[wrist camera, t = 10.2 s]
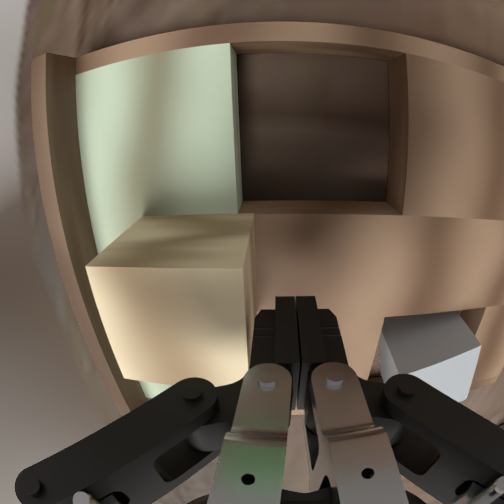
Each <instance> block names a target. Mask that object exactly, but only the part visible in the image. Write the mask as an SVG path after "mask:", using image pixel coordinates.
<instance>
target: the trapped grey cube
mask: <svg viewBox="0 0 504 504" xmlns="http://www.w3.org/2000/svg"><path fill="white" fill-rule="evenodd" d="M378 344H379V361H380V373H381V376H382V379H383V382H384V383H386V382H387V380H388V379H389V378H390V377H392V376H394V375H397V374H411V375H414V376H416V377H418V378H420V379H421V380H423V381H424V382H426V383H428V384H429V385H431V386H433V387H434V388H436V389H437V390H439V391H441V392H442V393H444V394H446V395H447V396H449V397H450V398H452V399H454V400H455V401H457V402H460V401H463V400H465V399H467V395H468V392H469V389H470V386H471V383H472V379H473V376H474V372H475V369H476V365H477V361H478V357H479V353H480V349H481V344H480V342H479V341H478V340H477V338H476V337H475V335H474V334H473V333H472V331H471V330H470V328H469V327H468V326H467V324H466V323H465V322H464V320H463V319H462V318H461V316H460V315H459V314H458V312H457V311H449V312H440V313H429V314H418V315H406V316H393V317H385V318H384V322H383V326H382V330H381V334H380V338H379V342H378Z"/></svg>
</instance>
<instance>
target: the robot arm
mask: <svg viewBox="0 0 504 504" xmlns="http://www.w3.org/2000/svg"><path fill="white" fill-rule="evenodd" d="M296 398H297V410H304V414H305V421H304V427H303V430H304V437H305V444H306V451H307V459H308V466H309V475H310V480H309V493H299V492H293V491H288V490H283V489H282V483H283V474H284V465H285V456H286V446H287V434H288V428H289V426H290V420H291V410H295V407H296ZM218 455H219V459H218V463H217V467H216V471H215V475H214V478H213V482H212V486H211V490H210V493H209V494H208V495H205V496H202V497H199V498H197V499H195V500H193V501H191V502H189V503H187V504H426V503H425V502H424V501H422V500H421V499H420V498H418V497H417V496H415V495H414V494H412V493H410V492H408V491H406V490H405V488H404V485H403V482H402V478H401V475H403V476H404V477H405V478H407V479H408V480H410V481H411V482H412V483H414V484H415V485H417V486H418V487H419V488H421V489H422V490H424V491H425V492H427V493H428V494H430V495H431V496H433V497H434V498H436V499H437V500H439V501H440V502H442V503H443V504H504V424H503V425H501V426H497V425H495V424H493V423H492V422H490V421H488V420H487V419H485V418H483V417H482V416H480V415H478V414H477V413H475V412H473V411H472V410H470V409H469V408H467V407H465V406H464V405H462V404H460V403H459V402H457V401H455V400H454V399H452V398H450V397H449V396H447V395H446V394H444V393H442V392H441V391H439V390H437V389H436V388H434V387H433V386H431V385H429V384H428V383H426V382H424V381H423V380H421V379H420V378H418V377H416V376H414V375H411V374H397V375H394V376H392V377H390V378H389V379H388V380H387V382H386V383H379V382H372V381H368V380H365V379H362V378H360V377H358V376H357V374H356V372H355V371H354V370H353V369H352V368H351V367H350V366H349V365H348V361H347V356H346V352H345V348H344V344H343V340H342V336H341V332H340V328H339V325H338V321H337V317H336V316H335V315H334V314H333V313H332V311H331V310H330V309H318V308H317V303H316V298H315V296H296V298H295V297H294V296H275V309H261V310H260V312H259V313H258V314H257V315H256V317H255V320H254V329H253V338H252V348H251V357H250V366H249V370H248V371H247V372H246V374H245V375H244V377H243V378H241V379H240V380H238V381H237V382H234V383H232V384H228V385H223V386H218V387H215V386H214V385H213V384H212V383H211V382H210V381H208V380H206V379H203V378H198V377H192V378H186V379H183V380H181V381H179V382H177V383H176V384H174V385H172V386H171V387H169V388H168V389H166V390H165V391H163V392H161V393H160V394H158V395H157V396H155V397H153V398H152V399H150V400H149V401H147V402H145V403H144V404H142V405H141V406H139V407H137V408H136V409H134V410H132V411H131V412H129V413H127V414H126V415H124V416H122V417H121V418H119V419H117V420H116V421H114V422H112V423H110V424H109V425H107V426H105V427H103V428H102V429H100V430H98V431H97V432H95V433H93V434H91V435H89V436H88V437H86V438H84V439H82V440H80V441H79V442H77V443H75V444H73V445H71V446H69V447H68V448H65V449H64V450H62V451H60V452H58V453H56V454H54V455H52V456H50V457H49V458H46V459H44V460H42V461H40V462H38V463H36V464H34V465H32V466H30V467H28V468H26V469H24V470H23V471H22V472H21V473H20V474H19V475H18V477H17V479H16V482H15V492H16V495H17V497H18V499H19V501H20V502H21V503H22V504H152V503H153V502H155V501H156V500H158V499H159V498H161V497H162V496H164V495H165V494H167V493H168V492H170V491H171V490H173V489H174V488H176V487H177V486H178V485H180V484H181V483H183V482H184V481H185V480H187V479H188V478H190V477H191V476H192V475H194V474H195V473H196V472H198V471H199V470H200V469H202V468H203V467H204V466H206V465H207V464H208V463H209V462H211V461H212V460H213V459H215V458H216V457H217V456H218ZM400 474H401V475H400Z"/></svg>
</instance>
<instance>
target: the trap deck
mask: <svg viewBox="0 0 504 504" xmlns="http://www.w3.org/2000/svg"><path fill="white" fill-rule="evenodd" d="M257 53H310V54H328V55H341V56H352V57H361V58H369V59H376V60H383V61H388V74H389V104H390V133H389V163H388V181H387V194H386V202H373V201H323V200H277V201H243V196H242V175H241V153H240V130H239V107H238V83H237V58H236V55H238V54H257ZM31 106H32V124H33V137H34V147H35V156H36V164H37V171H38V177H39V184H40V189H41V195H42V200H43V205H44V210H45V215H46V220H47V224H48V228H49V233H50V237H51V241H52V245H53V248H54V252H55V256H56V259H57V263H58V266H59V269H60V273H61V276H62V279H63V282H64V285H65V288H66V291H67V294H68V297H69V300H70V303H71V306H72V309H73V311H74V314H75V317H76V319H77V322H78V324H79V327H80V329H81V332H82V334H83V337H84V339H85V342H86V344H87V346H88V349H89V351H90V353H91V355H92V358H93V360H94V362H95V364H96V366H97V368H98V370H99V373H100V375H101V377H102V379H103V381H104V383H105V385H106V387H107V389H108V391H109V393H110V394H111V396H112V398H113V400H114V402H115V404H116V406H117V407H118V409H119V411H120V413H121V415H122V416H124V415H126V414H127V413H129V412H131V411H132V410H134V409H136V408H137V407H139V406H141V405H142V404H144V403H145V402H147V401H149V400H150V399H152V398H153V397H155V396H157V395H158V394H160V393H161V392H163V391H165V390H166V389H168V388H169V387H171V386H172V385H167V384H159V383H151V382H144V381H138V380H131V379H125V378H124V377H123V375H122V372H121V370H120V367H119V365H118V363H117V360H116V358H115V355H114V353H113V350H112V347H111V345H110V342H109V339H108V337H107V334H106V331H105V328H104V326H103V323H102V320H101V317H100V314H99V311H98V308H97V305H96V302H95V299H94V295H93V292H92V289H91V285H90V282H89V278H88V275H87V271H86V267H85V266H86V265H87V264H88V263H89V262H90V261H92V260H93V259H94V258H95V257H96V256H97V255H98V254H99V253H100V252H102V251H103V250H104V249H105V248H106V247H107V246H108V245H110V244H111V243H112V242H113V241H114V240H115V239H116V238H118V237H119V236H120V235H121V234H122V233H123V232H125V231H126V230H127V229H128V228H129V227H131V226H132V225H133V224H134V223H135V222H137V221H138V220H139V219H140V218H141V217H143V216H165V215H195V214H243V213H254V232H255V265H256V300H257V314H258V313H259V312H260V310H261V309H275V296H294V297H295V298H296V296H315V298H316V303H317V308H318V309H330V310H331V311H332V313H333V314H334V315H335V316H336V317H337V321H338V325H339V328H340V332H341V336H342V340H343V344H344V348H345V352H346V356H347V361H348V365H349V366H350V367H351V368H352V369H353V370H354V371H355V372H356V374H357V376H358V377H360V378H362V379H365V380H368V381H372V382H379V383H384V382H383V379H382V377H373V378H368V376H369V373H370V370H371V366H372V363H373V360H374V356H375V353H376V349H377V345H378V342H379V338H380V334H381V330H382V326H383V322H384V318H385V317H393V316H406V315H418V314H429V313H440V312H449V311H458V310H462V313H461V318H462V319H463V320H464V322H465V323H466V324H467V326H468V327H469V328H470V330H471V331H472V333H473V334H474V335H475V337H476V338H477V340H478V341H479V342H480V344H481V349H480V353H479V357H478V361H477V365H476V369H475V372H474V376H473V379H472V383H471V386H470V389H469V390H472V389H476V388H479V387H482V386H486V385H489V384H492V383H494V382H495V381H496V379H497V377H498V376H499V374H500V372H501V370H502V369H503V367H504V66H502V65H499V64H497V63H494V62H492V61H490V60H487V59H485V58H482V57H479V56H477V55H474V54H471V53H468V52H465V51H463V50H460V49H456V48H453V47H450V46H447V45H444V44H440V43H437V42H433V41H429V40H425V39H422V38H417V37H413V36H409V35H404V34H400V33H395V32H390V31H384V30H378V29H372V28H365V27H358V26H350V25H341V24H330V23H315V22H248V23H233V24H222V25H213V26H204V27H197V28H190V29H184V30H178V31H172V32H167V33H162V34H157V35H152V36H148V37H144V38H139V39H135V40H131V41H128V42H124V43H120V44H117V45H113V46H110V47H107V48H103V49H100V50H97V51H94V52H91V53H88V54H85V55H82V56H80V57H77V58H73V57H68V56H63V55H57V54H51V53H44V54H42V55H40V56H38V57H36V58H34V59H32V62H31ZM301 414H304V410H297V398H296V407H295V410H291V415H301Z"/></svg>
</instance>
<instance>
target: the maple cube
mask: <svg viewBox="0 0 504 504" xmlns="http://www.w3.org/2000/svg"><path fill="white" fill-rule="evenodd" d="M85 267H86V271H87V275H88V278H89V282H90V285H91V289H92V292H93V295H94V299H95V302H96V305H97V308H98V311H99V314H100V317H101V320H102V323H103V326H104V328H105V331H106V334H107V337H108V339H109V342H110V345H111V347H112V350H113V353H114V355H115V358H116V360H117V363H118V365H119V367H120V370H121V372H122V375H123V377H124V378H125V379H131V380H138V381H144V382H151V383H159V384H167V385H174V384H176V383H177V382H179V381H181V380H183V379H186V378H192V377H198V378H203V379H206V380H208V381H210V382H211V383H212V384H213V385H214V386H215V387H218V386H223V385H228V384H232V383H234V382H237V381H238V380H240V379H241V378H243V377H244V375H245V374H246V372H247V371H248V370H249V366H250V357H251V348H252V338H253V329H254V320H255V317H256V315H257V300H256V265H255V232H254V213H243V214H195V215H165V216H143V217H141V218H140V219H139V220H138V221H137V222H135V223H134V224H133V225H132V226H131V227H129V228H128V229H127V230H126V231H125V232H123V233H122V234H121V235H120V236H119V237H118V238H116V239H115V240H114V241H113V242H112V243H111V244H110V245H108V246H107V247H106V248H105V249H104V250H103V251H102V252H100V253H99V254H98V255H97V256H96V257H95V258H94V259H93V260H92V261H90V262H89V263H88V264H87V265H86V266H85Z"/></svg>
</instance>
